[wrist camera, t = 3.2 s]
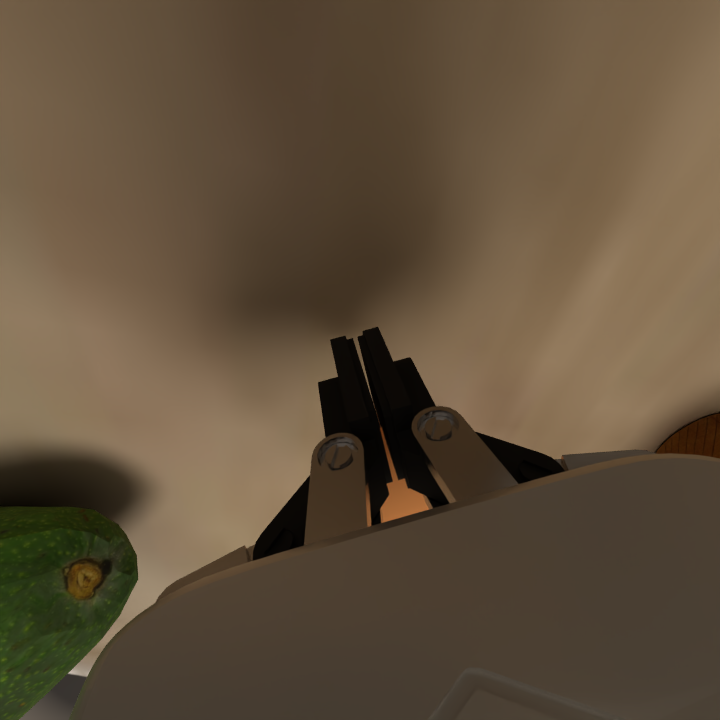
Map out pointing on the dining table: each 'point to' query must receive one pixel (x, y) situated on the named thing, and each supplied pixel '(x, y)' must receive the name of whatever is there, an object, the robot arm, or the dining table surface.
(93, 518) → the fruit
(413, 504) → the ball
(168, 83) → the dining table surface
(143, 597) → the dining table surface
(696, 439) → the disposable coffee cup
